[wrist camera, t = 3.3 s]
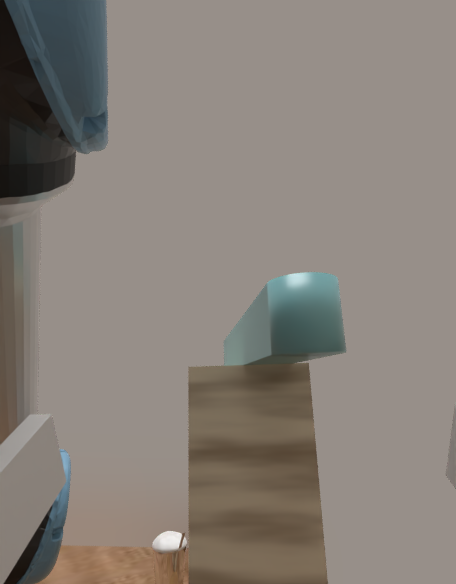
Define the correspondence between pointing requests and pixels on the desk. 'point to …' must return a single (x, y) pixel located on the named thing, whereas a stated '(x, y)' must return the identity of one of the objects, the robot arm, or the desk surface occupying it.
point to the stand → (253, 477)
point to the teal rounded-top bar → (289, 322)
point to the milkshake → (169, 557)
